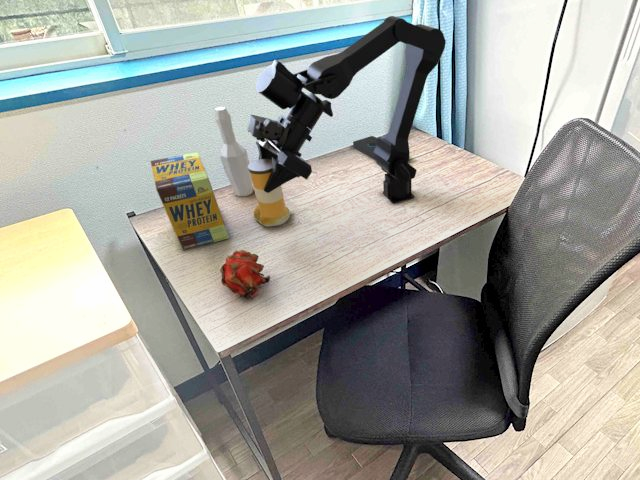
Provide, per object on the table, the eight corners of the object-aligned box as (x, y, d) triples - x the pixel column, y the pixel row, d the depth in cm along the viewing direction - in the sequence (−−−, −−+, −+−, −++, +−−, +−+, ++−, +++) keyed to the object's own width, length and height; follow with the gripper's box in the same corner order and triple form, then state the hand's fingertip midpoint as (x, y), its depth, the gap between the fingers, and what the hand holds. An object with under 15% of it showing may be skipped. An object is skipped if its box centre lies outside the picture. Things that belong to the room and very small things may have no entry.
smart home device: (372, 135, 140) (411, 155, 128) (373, 140, 141) (411, 161, 130) (351, 141, 137) (388, 163, 125) (352, 146, 138) (388, 168, 126)
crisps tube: (287, 203, 99) (276, 157, 91) (286, 216, 95) (275, 169, 87) (261, 205, 98) (249, 160, 91) (259, 219, 94) (246, 172, 87)
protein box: (183, 251, 97) (155, 189, 87) (174, 219, 107) (149, 160, 97) (229, 238, 101) (209, 177, 90) (217, 208, 111) (197, 150, 100)
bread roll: (267, 232, 103) (263, 217, 100) (250, 217, 108) (246, 202, 105) (297, 219, 106) (294, 205, 104) (279, 205, 112) (276, 191, 109)
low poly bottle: (239, 185, 120) (215, 103, 105) (260, 187, 119) (238, 104, 104) (228, 196, 115) (201, 112, 100) (249, 198, 114) (225, 114, 99)
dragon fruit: (246, 274, 93) (261, 314, 87) (206, 268, 87) (220, 310, 81) (263, 245, 90) (280, 284, 83) (223, 235, 84) (238, 277, 77)
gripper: (250, 86, 88) (213, 151, 91) (285, 112, 76) (241, 186, 80) (293, 117, 96) (258, 175, 100) (330, 145, 85) (289, 210, 88)
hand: (260, 186), depth 91 cm, fingers closed on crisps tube, 6 cm apart
